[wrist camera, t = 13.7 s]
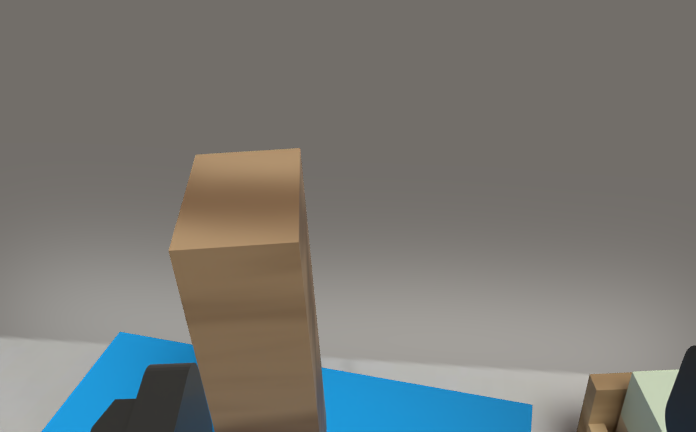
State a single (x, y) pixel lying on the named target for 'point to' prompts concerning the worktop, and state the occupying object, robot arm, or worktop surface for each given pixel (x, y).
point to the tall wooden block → (251, 291)
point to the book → (339, 393)
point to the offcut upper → (647, 400)
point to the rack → (603, 402)
